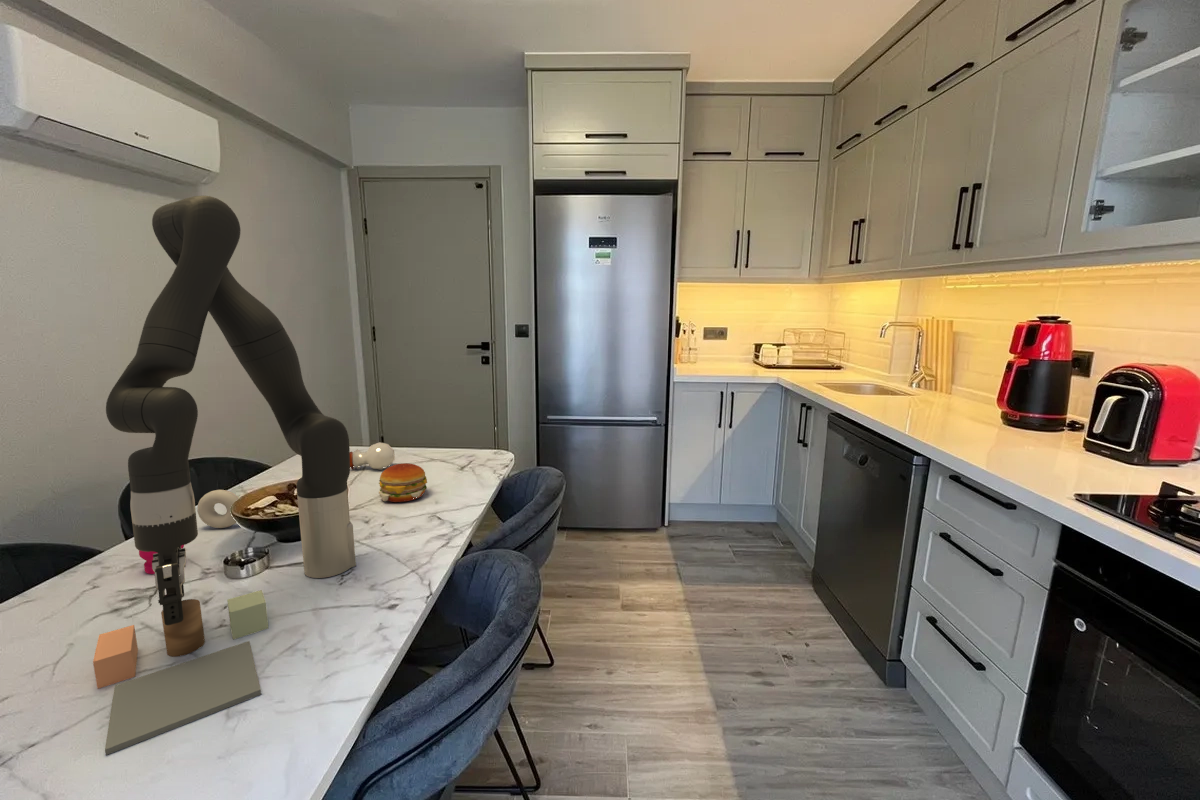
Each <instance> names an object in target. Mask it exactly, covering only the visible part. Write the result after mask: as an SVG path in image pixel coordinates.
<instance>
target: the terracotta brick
mask: <svg viewBox="0 0 1200 800" xmlns="http://www.w3.org/2000/svg"><path fill="white" fill-rule="evenodd" d="M137 640H138V639H137V635H136V629H135V624H131V625H128V626H126V627H122V628H118V629H115V630H111V631H107V632H104V633H99V635H98V638H97V642H96V647H95V651H94V656H93V661H92V664H93V670H94V671H93V672H94V675H95V676H94V677H95V681H96V688H97V690H98V689H102V688H105V687H107V686H111V685H114V684H117V683H120V682H123V681H127V680H129V679H133V678H135V677H136V672H137V662H138V653H139V648H138V647H139V646H138V642H137Z"/></svg>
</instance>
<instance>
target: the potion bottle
mask: <svg viewBox="0 0 1200 800" xmlns="http://www.w3.org/2000/svg"><path fill="white" fill-rule="evenodd" d="M395 459H396V456H395V450H394V449H393V448H392V447H391V446H390V444H389V443H385V442H380V441H379V442H377V443H374V444H371V445H370V446H369V448H367V451H363V452H362V451H360V450H359V449H356V450H354V451H350V467H351V468H350V470H353V469H355V468H356V467H357V468H356V469H357V470H359V469H361V467H363V466H364V465H369V467H370V468H371V469H373V470H378V471H382V470H383V471H384V470H386V469H387V468H388V467H387V466H389V465H391V466H392V464H393V462H394V461H395ZM353 466H355V467H353ZM358 466H361V467H358ZM383 467H386V468H383ZM389 467H390V466H389Z"/></svg>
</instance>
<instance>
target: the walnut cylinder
mask: <svg viewBox="0 0 1200 800" xmlns="http://www.w3.org/2000/svg"><path fill="white" fill-rule="evenodd" d="M182 608H183V621H182V622H179V623H176V624H172V625H165V622H164V614H163V609H162V610H161V613H160V614H161V622H162V627H163V636H164V641H165V648H166V654H167V656H169V657H172V658H173V657H177V658H178V657H182V656H187V655H189V654H192V653H194V652H196V651H197V650H199V649H200V648H202V647H203V646H204V644H205V643H206V641H205V639H206V638H205V630H204V622H203V616H202V607H201V602H200V600H199V599H195V598H189V599H182Z"/></svg>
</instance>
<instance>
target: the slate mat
mask: <svg viewBox="0 0 1200 800" xmlns="http://www.w3.org/2000/svg"><path fill="white" fill-rule="evenodd" d="M253 655H254V654H253V651H252V645H251V642H250V640H247V641H244V642H241V643H239V644H234V645H233V646H229V647H227V648H224V649H220V650H217V651H214V652H211V653H208V654H205V655H202V656H200V657H196V658H193V659H190V660H188V661H183V662H182V663H178V664H174V665H173V666H169V667H166V668H163V669H161V670H157V671H153V672H151V673H147V674H145V675H143V676H139V677H137V678H132V679H130V680H126V681H124V682H123V681H122V682H121V683H120V682H119V684H117V683H116V684H115V685H114V687H113V694H112V702H111V707H110V713H109V719H108V720H109V722H108V726H107V734H106V739H105V740H106V741H105V746H104V747H105V748H104V752H105V756H108V755H110V754H113V753H115V752H118V751H121V750H123V749H126V748H128V747H131V746H133V745H136V744H139V743H140V742H143V741H146V740H148V739H151V738H154V737H156V736H159V735H162V734H163V733H167V732H169V731H172V730H174V729H176V728H179V727H182V726H184V725H187V724H190V723H192V722H195V721H197V720H200V719H203V718H205V717H207V716H210V715H212V714H215V713H218V712H220V711H223V710H225V709H227V708H230V707H233V706H235V705H238V704H240V703H243V702H246V701H249V700H250V699H253V698H256V697H259V696H261V695H262V690H261V684H260V680H259V676H258V671H257V669H256V663H255V658H254V656H253Z"/></svg>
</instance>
